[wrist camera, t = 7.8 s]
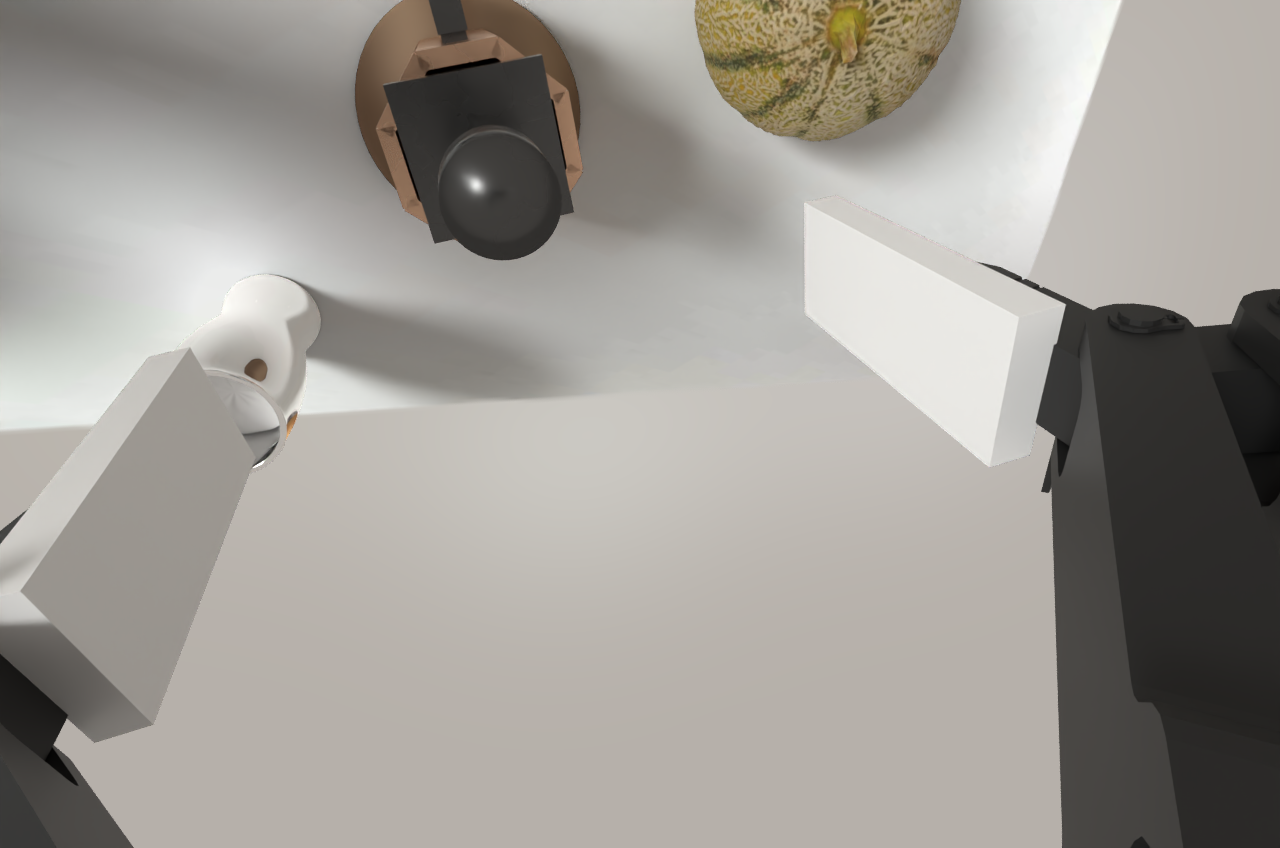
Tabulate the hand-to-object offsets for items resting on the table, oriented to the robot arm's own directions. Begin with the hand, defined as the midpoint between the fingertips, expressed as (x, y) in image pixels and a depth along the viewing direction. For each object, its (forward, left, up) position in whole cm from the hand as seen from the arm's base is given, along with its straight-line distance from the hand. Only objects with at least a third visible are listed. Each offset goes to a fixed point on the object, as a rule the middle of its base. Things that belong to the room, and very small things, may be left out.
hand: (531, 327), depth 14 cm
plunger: (0, 0, -32) cm, 32 cm away
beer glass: (-17, -10, -35) cm, 40 cm away
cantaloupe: (+21, +3, -35) cm, 41 cm away
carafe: (0, +1, -34) cm, 34 cm away
